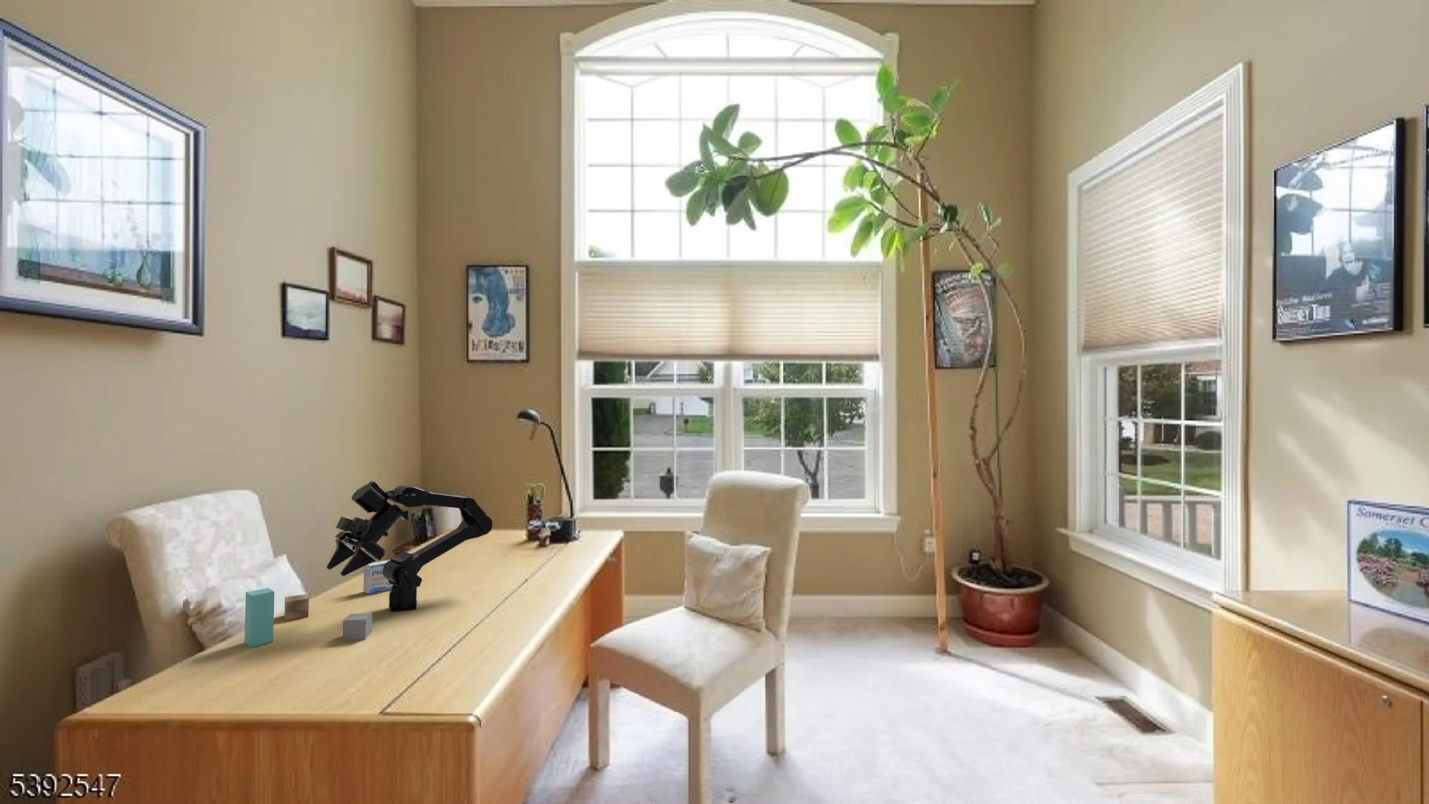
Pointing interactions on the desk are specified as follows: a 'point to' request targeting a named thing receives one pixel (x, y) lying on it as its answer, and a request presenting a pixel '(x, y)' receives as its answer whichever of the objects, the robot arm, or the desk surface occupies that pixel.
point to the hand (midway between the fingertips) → (334, 571)
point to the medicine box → (375, 578)
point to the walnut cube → (296, 607)
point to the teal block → (259, 617)
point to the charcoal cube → (357, 626)
